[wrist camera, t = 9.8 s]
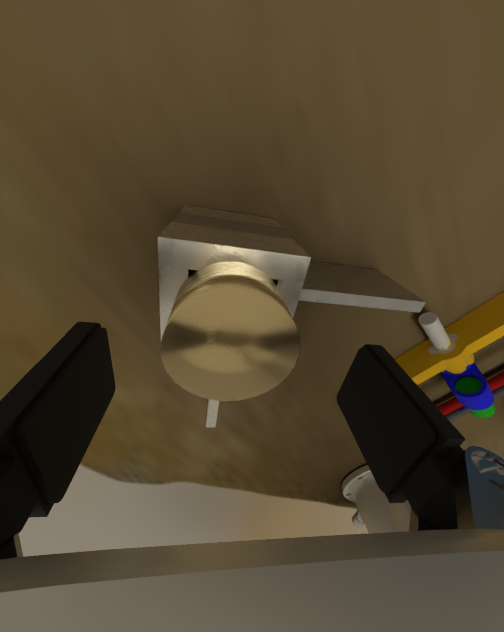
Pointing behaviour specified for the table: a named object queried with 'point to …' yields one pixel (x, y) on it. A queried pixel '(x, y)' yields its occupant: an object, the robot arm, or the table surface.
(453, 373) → the mechanical clamp
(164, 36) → the table surface
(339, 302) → the white corner connector
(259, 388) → the wooden bell shape
